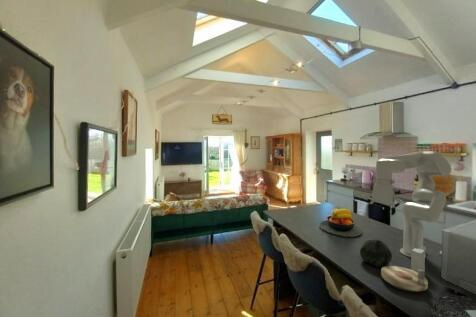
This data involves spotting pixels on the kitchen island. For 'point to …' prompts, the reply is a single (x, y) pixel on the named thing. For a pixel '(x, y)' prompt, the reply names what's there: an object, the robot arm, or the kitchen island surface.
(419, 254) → the skincare box
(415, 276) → the turntable
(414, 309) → the kitchen island surface
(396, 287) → the turntable base
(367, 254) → the squash
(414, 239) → the robot arm
